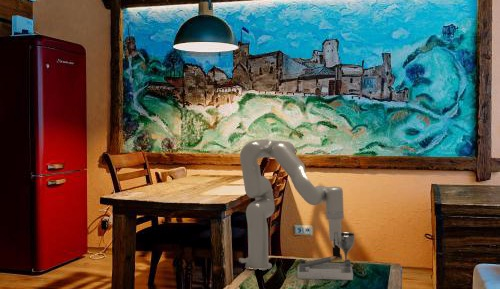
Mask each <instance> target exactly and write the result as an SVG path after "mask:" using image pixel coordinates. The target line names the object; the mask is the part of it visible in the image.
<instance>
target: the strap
mask: <svg viewBox="0 0 500 289" xmlns="http://www.w3.org/2000/svg"><path fill="white" fill-rule="evenodd" d="M341 260H343V255H342V253H340V257H333V255H331V256H327V257H322V258H318V259H313V260H310V261H309V260H308V261H305V262H304V263H302V264H305V267H309V266H314V265H319V264H323V263H334V262H336V261H341Z"/></svg>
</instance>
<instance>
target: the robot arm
mask: <svg viewBox="0 0 500 289" xmlns="http://www.w3.org/2000/svg"><path fill="white" fill-rule="evenodd" d="M263 158H271V159H272V158H273V159H274V160H275V161H276V162H277V163H278V165H280V167H282V169H283V170H284V172H285V173H286V174H287V175H288V176H289V178H290V181H291V182H292V184H293V187H294V189H295V190H296V192H297V193H298V194H299V196H301V198H302V200H304V201H305V202H306V203H307V204H308V205H310V206H317V205H319V204H322V203H325V210H326V212H325V213H326V219H327V220H328V232H329V233H328V234H329V238H328V239H329V242H330V243H331V242H332V256H333V257H340V254H341V248H340V247H339V241H341V233H342V220H343V219H344V218H345V217H344V214H345V213H344V195H343V194H344V192H343V188H342V187H340V186H325V185H317V186H314V184H312V182H311V180H310V179H309V178H308V176H307V174H306V166H305V163H303V161H302V160H301V159H300V158H299V156H297V154H296V147H295V146H294V144H293V143H292V142H289V141H285V140H283V141H282V140H275V139H257V140H256V139H255V140H251V141H249V142H247V143H246V144H245V145H244V146H243V147H242V148H241V151H240V154H239V162H240V167H241V172H242V178H243V185H244V191H245V192H244V193H245V194H246V195H247V197H249V198H250V199H255V200H254V201H252V202H250V203H249V204H248V205H247V207H246V210H245V216H246V222H247V243H248V244H247V245H248V246H247V247H248V250H247V251H248V254H247V255H248V256H247V257H246V258H244V257H239V258H238V262H239V263H240V264H245V265H244V268H245V269H247V270H249V269H248V268H249V267H250V268H253V269H259V270H262V271H267V269H268V270H271V269H272V268H273V265H272V263H271V262H269V227H268V221H267V219H268V218H270V217H271V216H273V214H274V213H275V209H276V208H275V207H276V206H275V198H274V193H273V188H272V187H273V186H272V184H271V181H270V180H269V179H268V177H265V176H262V174H261V167H260V164H259V162H258V160H259V159H263Z"/></svg>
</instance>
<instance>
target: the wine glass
mask: <svg viewBox="0 0 500 289" xmlns="http://www.w3.org/2000/svg"><path fill="white" fill-rule="evenodd" d="M354 243H355V233H353V232H347V231H346V232H343V231H341V241H339V247H340V250H342V252H343V254H344V260H345V259H348V253H349V252H350V250H351V249H352V248H353V247H354ZM341 267H345V264H344V262H343V263H341ZM350 267H352V268H353V267H354V264H352V263H350Z"/></svg>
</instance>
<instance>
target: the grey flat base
mask: <svg viewBox="0 0 500 289" xmlns="http://www.w3.org/2000/svg"><path fill="white" fill-rule="evenodd" d="M343 261H344V262H343V263H344V264H345V267H341V264H342V263H338V262H328V263H323V264H319V265H314V266H309V267H305V264H302V263H304V262H306V259H299V263H298V265H297V279H299V280H300V279H302V280H333V281H334V280H335V281H336V280H338V281H339V280H342V281H354V270H353V267H350V264H351V259H349V258H347V259H345V258H344V260H343Z"/></svg>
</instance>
